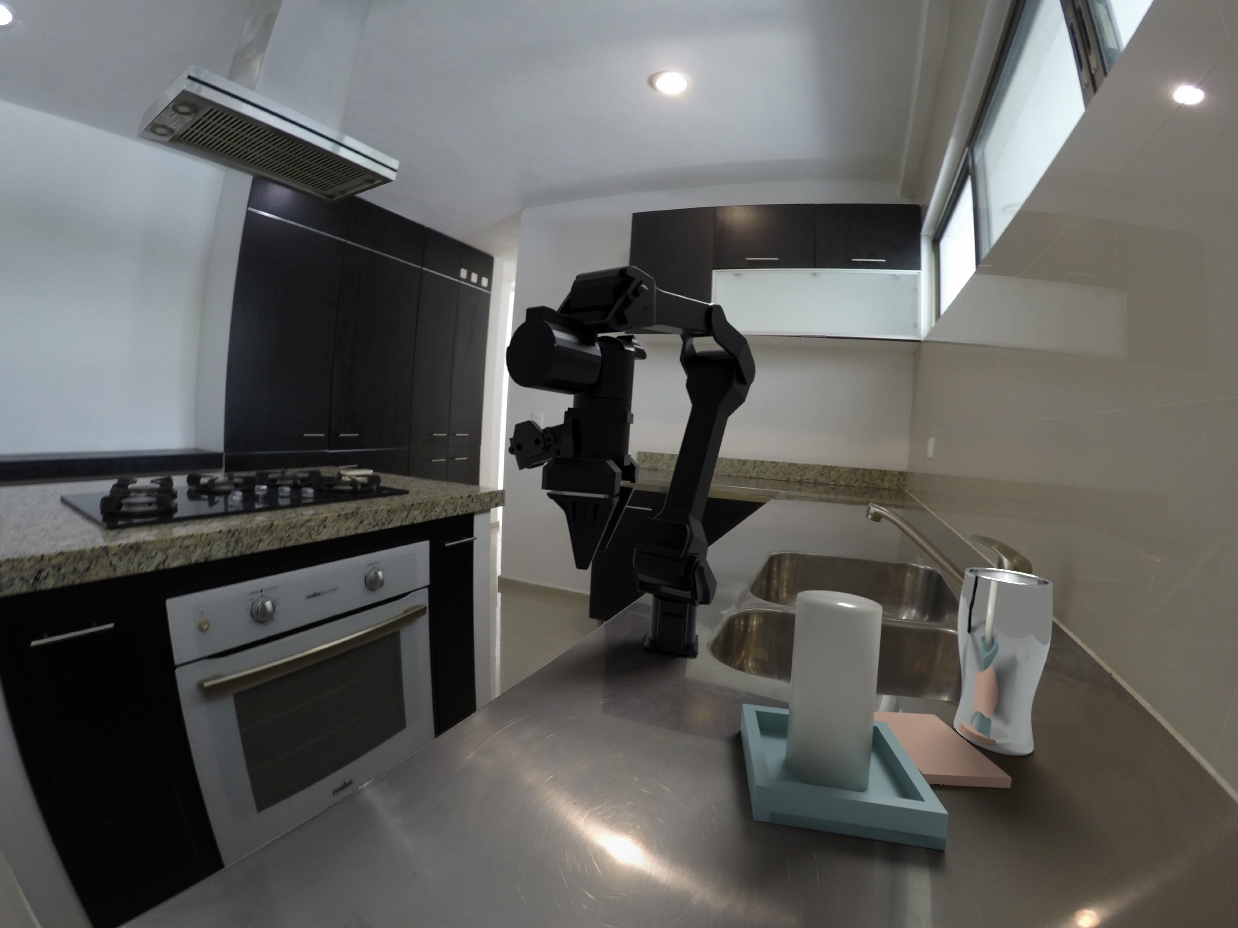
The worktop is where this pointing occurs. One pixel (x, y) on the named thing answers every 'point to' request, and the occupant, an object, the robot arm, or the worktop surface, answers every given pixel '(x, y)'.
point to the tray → (880, 812)
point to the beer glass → (1001, 656)
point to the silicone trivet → (942, 752)
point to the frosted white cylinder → (833, 689)
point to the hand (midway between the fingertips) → (591, 559)
